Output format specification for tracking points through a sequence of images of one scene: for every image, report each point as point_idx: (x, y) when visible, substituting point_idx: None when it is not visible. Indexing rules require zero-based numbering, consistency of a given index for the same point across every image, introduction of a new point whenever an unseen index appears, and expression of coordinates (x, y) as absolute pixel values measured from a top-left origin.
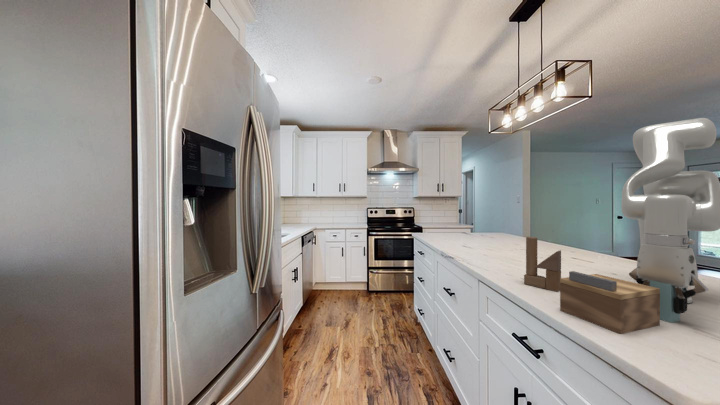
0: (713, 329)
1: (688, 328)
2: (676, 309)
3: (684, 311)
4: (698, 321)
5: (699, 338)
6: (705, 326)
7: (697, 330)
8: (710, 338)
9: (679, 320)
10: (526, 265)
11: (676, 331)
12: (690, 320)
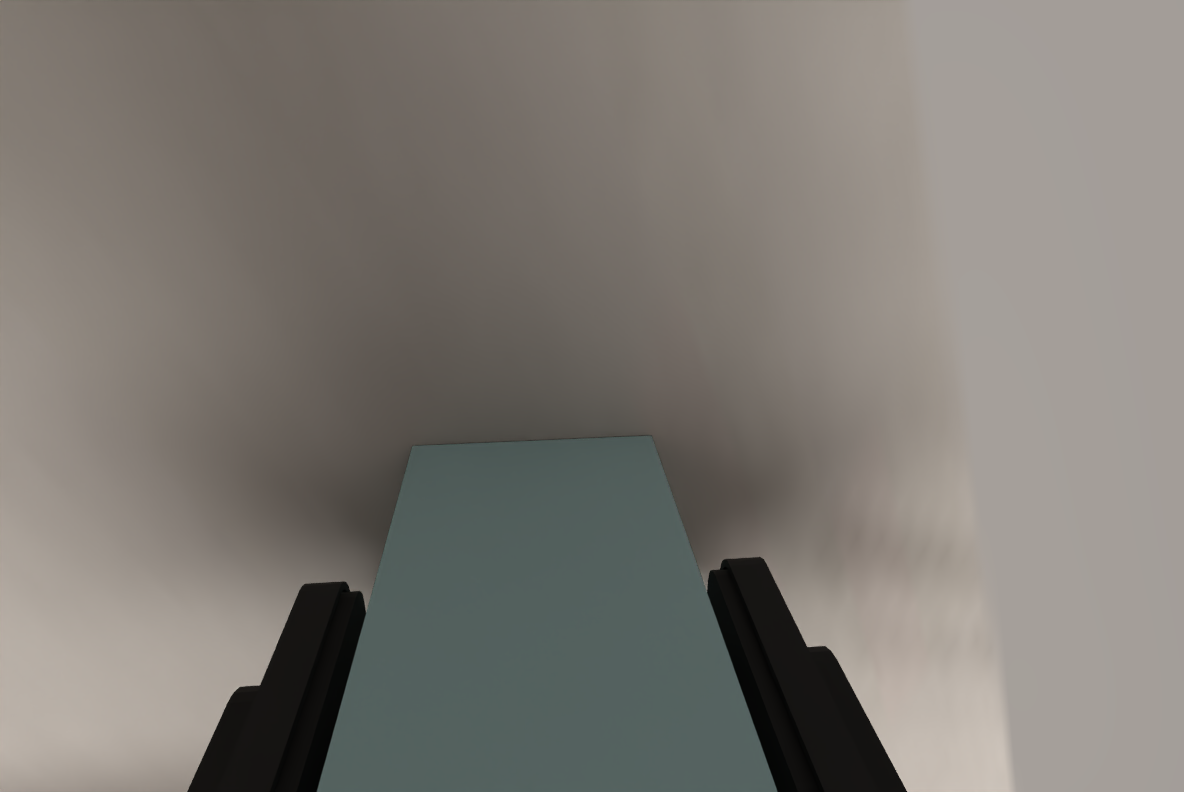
0: (956, 371)
1: (800, 609)
2: None
3: (760, 572)
4: (773, 197)
5: (923, 754)
6: (879, 346)
7: (864, 582)
8: (978, 675)
9: (649, 443)
10: None
11: None
12: (705, 273)
